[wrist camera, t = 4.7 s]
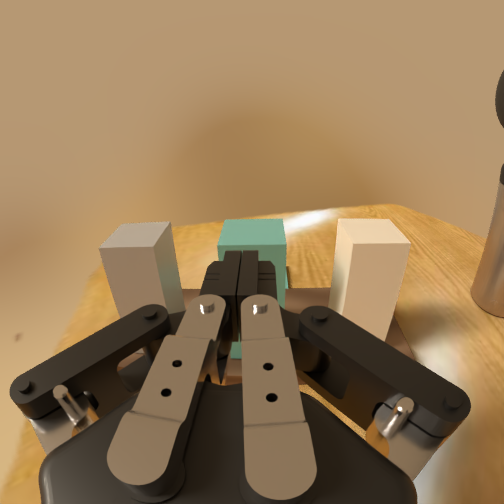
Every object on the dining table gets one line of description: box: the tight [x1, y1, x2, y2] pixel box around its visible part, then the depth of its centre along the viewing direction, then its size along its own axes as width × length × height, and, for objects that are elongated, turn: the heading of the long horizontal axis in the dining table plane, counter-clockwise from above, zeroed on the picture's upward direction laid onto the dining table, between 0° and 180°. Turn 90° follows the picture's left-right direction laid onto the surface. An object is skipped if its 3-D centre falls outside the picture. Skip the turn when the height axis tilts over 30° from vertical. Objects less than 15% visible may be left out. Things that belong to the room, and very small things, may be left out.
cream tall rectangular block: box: [328, 219, 411, 342], centre depth 26 cm, size 5×5×12 cm
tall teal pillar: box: [217, 219, 286, 359], centre depth 27 cm, size 5×5×12 cm
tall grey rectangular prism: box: [99, 222, 186, 353], centre depth 27 cm, size 5×5×12 cm
